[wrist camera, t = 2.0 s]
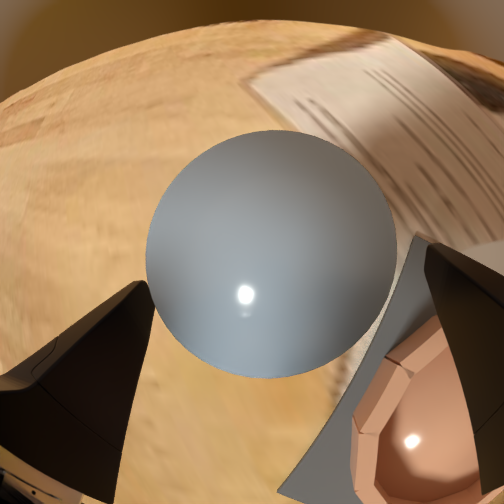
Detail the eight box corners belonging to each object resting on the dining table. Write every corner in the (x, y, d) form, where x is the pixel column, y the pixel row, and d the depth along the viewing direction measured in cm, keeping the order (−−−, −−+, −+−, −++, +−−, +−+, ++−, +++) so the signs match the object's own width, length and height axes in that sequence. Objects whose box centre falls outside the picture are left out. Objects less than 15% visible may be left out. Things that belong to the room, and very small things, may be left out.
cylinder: (318, 353, 15) (321, 423, 4) (241, 314, 17) (112, 297, 6) (356, 273, 16) (425, 181, 5) (279, 238, 17) (216, 110, 6)
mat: (451, 528, 9) (452, 531, 8) (277, 489, 13) (276, 492, 13) (561, 324, 11) (564, 324, 10) (413, 237, 15) (415, 235, 15)
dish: (461, 513, 9) (474, 531, 6) (307, 478, 13) (303, 504, 10) (552, 346, 10) (576, 346, 8) (419, 273, 15) (438, 262, 12)
